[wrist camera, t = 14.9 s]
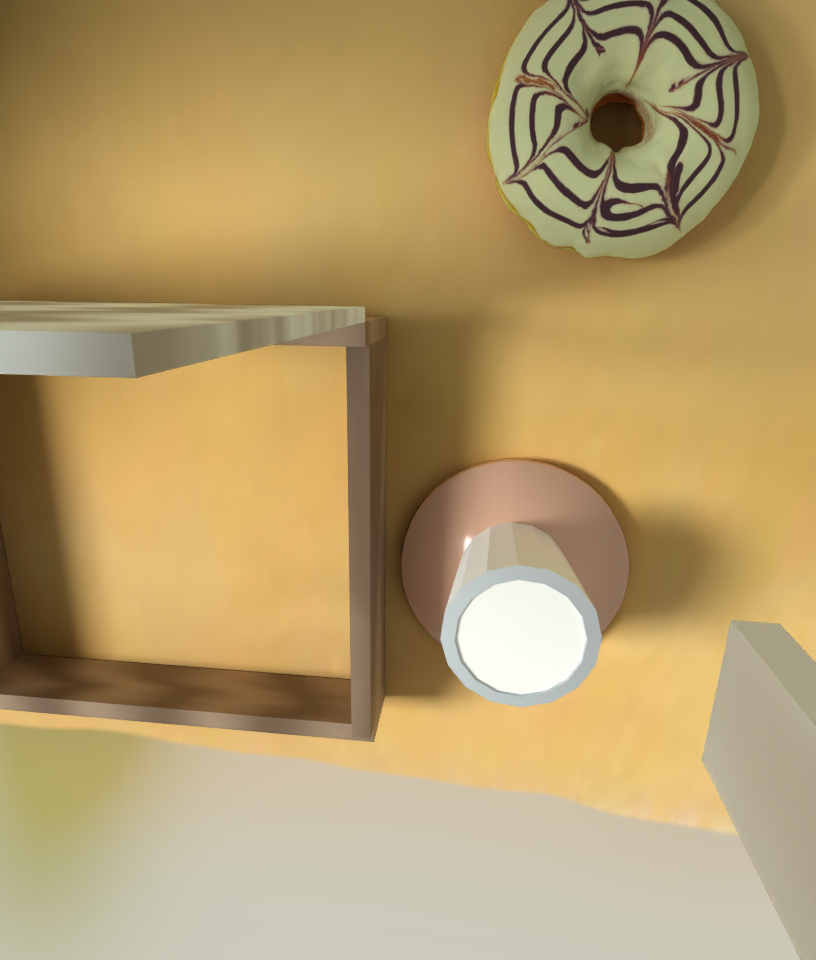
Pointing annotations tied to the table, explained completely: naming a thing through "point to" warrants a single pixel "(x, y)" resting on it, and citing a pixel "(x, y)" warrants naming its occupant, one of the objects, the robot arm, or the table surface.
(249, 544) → the table surface
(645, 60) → the decorated donut
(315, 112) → the table surface
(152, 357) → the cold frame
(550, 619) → the shot glass
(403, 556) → the terracotta saucer
